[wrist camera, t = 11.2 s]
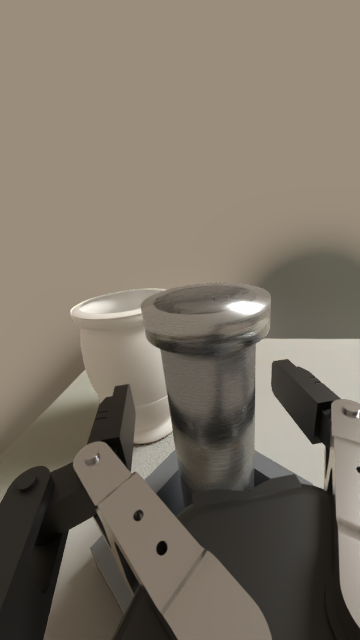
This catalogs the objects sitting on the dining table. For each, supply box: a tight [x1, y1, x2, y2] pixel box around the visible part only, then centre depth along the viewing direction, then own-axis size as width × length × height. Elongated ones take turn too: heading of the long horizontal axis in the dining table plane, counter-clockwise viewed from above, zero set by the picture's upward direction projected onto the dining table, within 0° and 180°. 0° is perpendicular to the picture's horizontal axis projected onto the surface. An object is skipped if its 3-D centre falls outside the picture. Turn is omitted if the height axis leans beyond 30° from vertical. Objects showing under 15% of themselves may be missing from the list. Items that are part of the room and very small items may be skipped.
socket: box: [90, 449, 313, 614], centre depth 15 cm, size 12×12×6 cm
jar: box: [70, 289, 173, 444], centre depth 26 cm, size 11×10×15 cm
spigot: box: [141, 283, 271, 508], centre depth 12 cm, size 5×5×16 cm
